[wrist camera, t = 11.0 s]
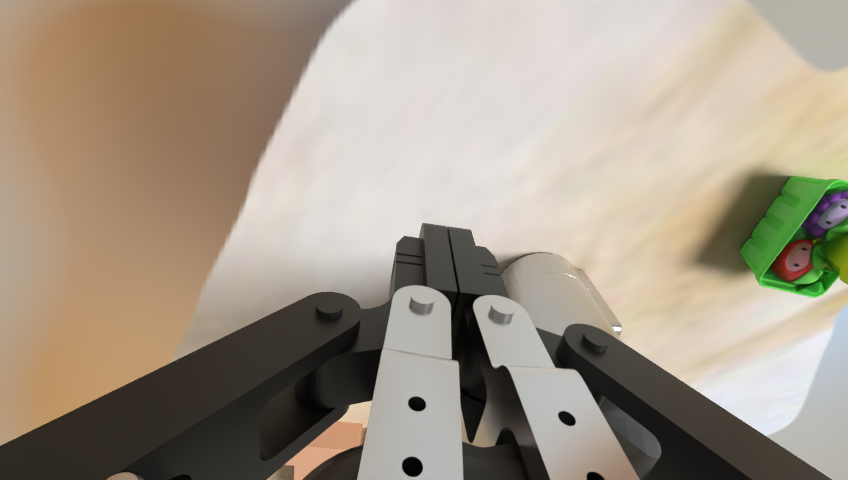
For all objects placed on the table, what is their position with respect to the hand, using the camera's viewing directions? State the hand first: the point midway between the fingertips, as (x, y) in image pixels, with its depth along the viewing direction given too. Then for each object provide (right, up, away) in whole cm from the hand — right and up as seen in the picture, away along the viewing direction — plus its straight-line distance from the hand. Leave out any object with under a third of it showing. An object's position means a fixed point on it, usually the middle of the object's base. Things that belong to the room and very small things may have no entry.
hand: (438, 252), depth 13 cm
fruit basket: (+38, +2, +31) cm, 49 cm away
